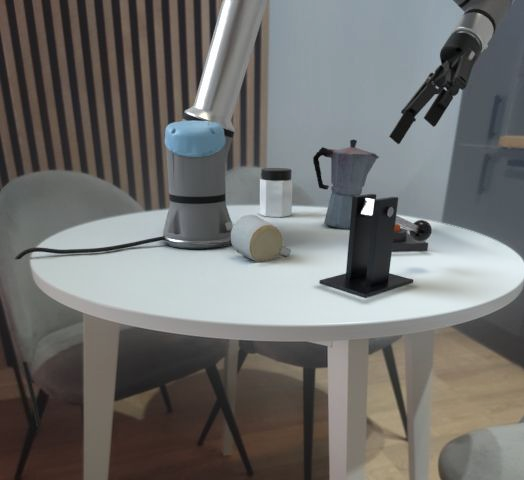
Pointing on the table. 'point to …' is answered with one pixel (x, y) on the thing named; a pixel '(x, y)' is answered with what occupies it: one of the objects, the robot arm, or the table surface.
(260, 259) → the ceramic mug
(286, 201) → the jar
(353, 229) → the bracket
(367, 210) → the lever
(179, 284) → the table surface
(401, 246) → the control block
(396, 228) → the button
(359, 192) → the moka pot
